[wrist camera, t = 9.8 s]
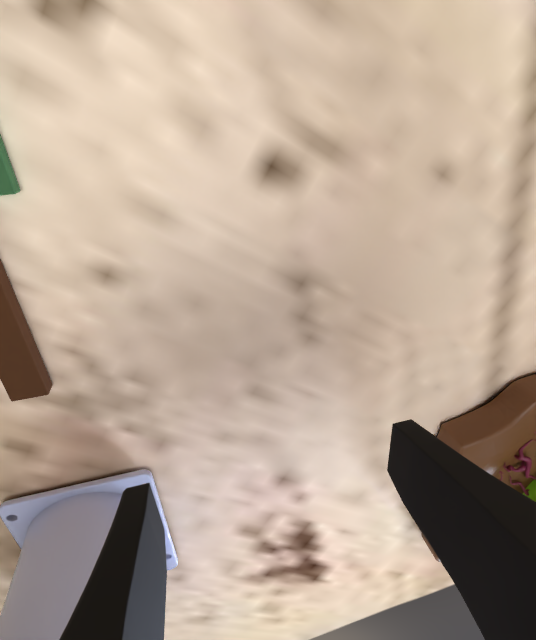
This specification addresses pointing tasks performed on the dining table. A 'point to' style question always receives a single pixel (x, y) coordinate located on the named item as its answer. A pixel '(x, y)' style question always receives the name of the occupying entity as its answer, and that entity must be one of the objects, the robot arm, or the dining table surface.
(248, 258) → the dining table surface
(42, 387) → the spatula
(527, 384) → the plant
